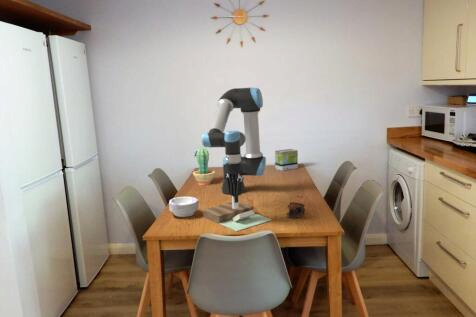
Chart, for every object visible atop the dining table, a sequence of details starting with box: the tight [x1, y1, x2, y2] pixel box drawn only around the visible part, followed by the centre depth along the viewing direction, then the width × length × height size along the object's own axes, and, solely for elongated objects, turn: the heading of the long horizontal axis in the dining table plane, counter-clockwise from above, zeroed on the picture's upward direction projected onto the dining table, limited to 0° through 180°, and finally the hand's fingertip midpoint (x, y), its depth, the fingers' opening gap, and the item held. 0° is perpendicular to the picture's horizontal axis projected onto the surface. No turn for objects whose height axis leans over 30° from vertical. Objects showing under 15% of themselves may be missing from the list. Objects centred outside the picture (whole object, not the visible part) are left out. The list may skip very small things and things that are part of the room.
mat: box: [218, 212, 273, 232], centre depth 195 cm, size 22×14×1 cm, turn 127°
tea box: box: [274, 148, 299, 172], centre depth 309 cm, size 15×10×15 cm, turn 119°
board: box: [202, 200, 255, 225], centre depth 205 cm, size 22×14×4 cm, turn 127°
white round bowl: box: [168, 196, 199, 218], centre depth 210 cm, size 15×15×8 cm
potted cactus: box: [192, 146, 216, 186], centre depth 272 cm, size 15×15×25 cm
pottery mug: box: [286, 201, 306, 219], centre depth 200 cm, size 12×10×8 cm
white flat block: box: [233, 210, 255, 222], centre depth 195 cm, size 9×6×2 cm
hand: (235, 208), depth 200 cm, fingers closed
